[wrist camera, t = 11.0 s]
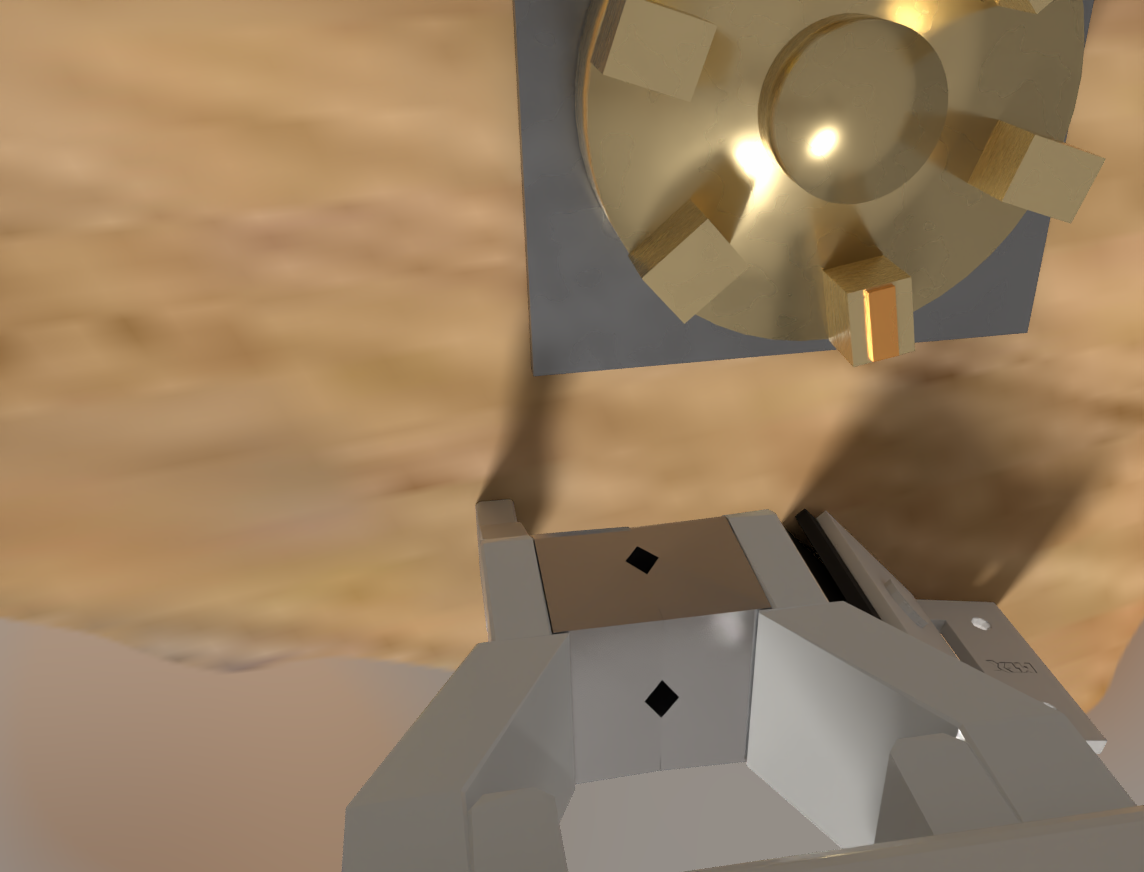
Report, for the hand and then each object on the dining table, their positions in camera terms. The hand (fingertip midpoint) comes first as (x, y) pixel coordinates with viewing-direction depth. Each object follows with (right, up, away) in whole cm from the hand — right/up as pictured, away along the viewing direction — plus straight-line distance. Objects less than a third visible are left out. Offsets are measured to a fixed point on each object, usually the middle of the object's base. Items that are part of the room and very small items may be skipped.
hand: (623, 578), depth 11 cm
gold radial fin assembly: (+8, +15, +29) cm, 34 cm away
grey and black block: (+15, -6, +42) cm, 45 cm away
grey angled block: (-4, -2, +36) cm, 37 cm away
